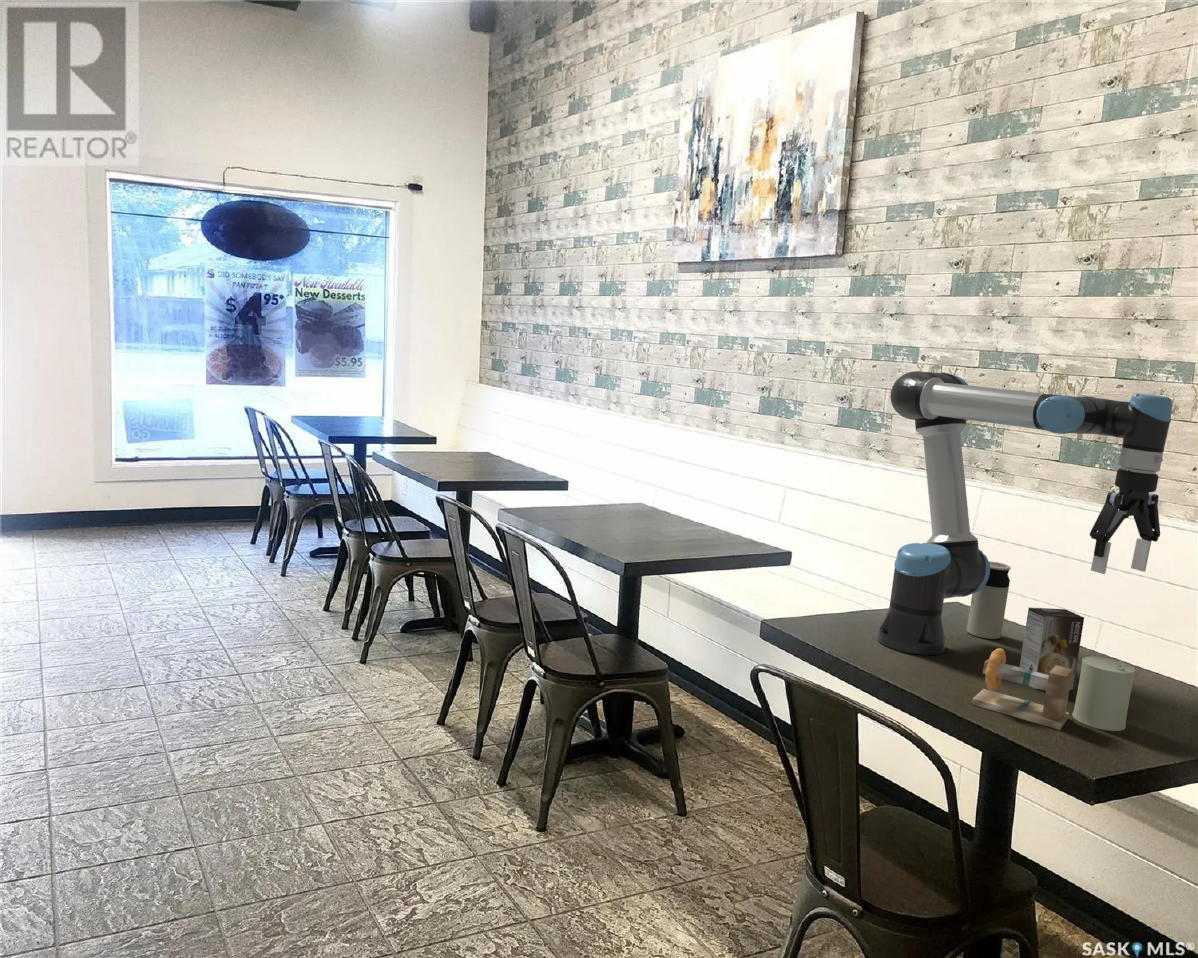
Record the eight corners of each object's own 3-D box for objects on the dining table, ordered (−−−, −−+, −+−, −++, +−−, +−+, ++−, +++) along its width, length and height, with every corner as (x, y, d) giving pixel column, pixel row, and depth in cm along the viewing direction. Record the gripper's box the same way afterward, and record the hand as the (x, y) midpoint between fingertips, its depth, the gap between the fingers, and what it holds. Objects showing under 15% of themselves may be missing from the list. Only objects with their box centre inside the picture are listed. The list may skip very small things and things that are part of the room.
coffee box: (1054, 679, 207) (1066, 608, 204) (1073, 690, 201) (1086, 617, 198) (1016, 678, 205) (1028, 606, 203) (1034, 689, 199) (1046, 615, 197)
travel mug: (1005, 636, 237) (1017, 566, 234) (992, 641, 231) (1004, 569, 229) (974, 627, 243) (985, 559, 240) (961, 632, 237) (972, 562, 234)
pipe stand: (971, 704, 187) (979, 655, 185) (982, 694, 193) (990, 646, 192) (1059, 729, 177) (1068, 678, 176) (1068, 718, 184) (1076, 668, 182)
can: (1102, 733, 178) (1113, 671, 176) (1061, 713, 186) (1071, 655, 184) (1136, 729, 182) (1147, 668, 180) (1094, 710, 190) (1104, 652, 188)
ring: (981, 691, 185) (988, 652, 184) (992, 682, 192) (998, 644, 191) (992, 694, 184) (998, 655, 183) (1003, 685, 191) (1009, 646, 190)
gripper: (1118, 473, 185) (1097, 578, 188) (1192, 474, 197) (1171, 573, 200) (1083, 465, 191) (1063, 568, 195) (1156, 468, 203) (1137, 564, 207)
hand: (1118, 571), depth 197 cm, fingers open, 13 cm apart
